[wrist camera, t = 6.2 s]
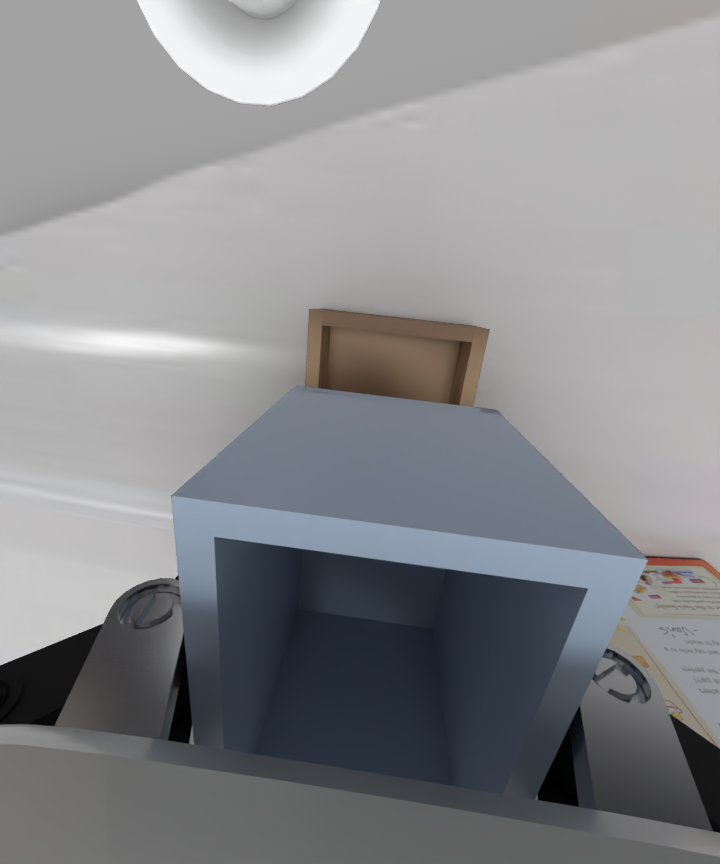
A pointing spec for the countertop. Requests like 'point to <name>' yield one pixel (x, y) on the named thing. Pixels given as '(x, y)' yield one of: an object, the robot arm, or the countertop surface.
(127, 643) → the robot arm
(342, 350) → the walnut crate
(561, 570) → the slate crate
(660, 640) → the cracker box
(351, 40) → the teacup
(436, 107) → the countertop surface
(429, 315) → the countertop surface
